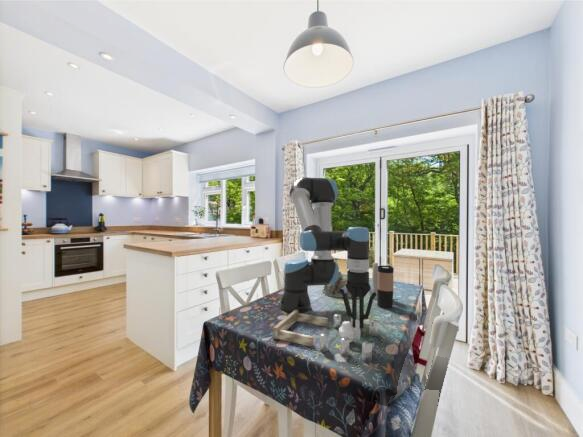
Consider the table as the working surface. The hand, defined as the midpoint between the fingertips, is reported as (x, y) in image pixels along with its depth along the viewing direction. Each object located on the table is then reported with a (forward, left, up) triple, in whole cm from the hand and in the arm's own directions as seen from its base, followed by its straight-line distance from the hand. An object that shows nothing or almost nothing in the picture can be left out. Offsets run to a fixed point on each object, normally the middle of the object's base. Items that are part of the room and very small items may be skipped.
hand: (358, 336), depth 90 cm
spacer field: (-3, 0, -2) cm, 4 cm away
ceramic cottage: (-20, +54, -3) cm, 58 cm away
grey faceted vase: (-3, 0, -2) cm, 4 cm away
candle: (+5, +59, -2) cm, 59 cm away
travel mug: (+6, +45, -2) cm, 46 cm away
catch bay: (-21, 0, -2) cm, 21 cm away
